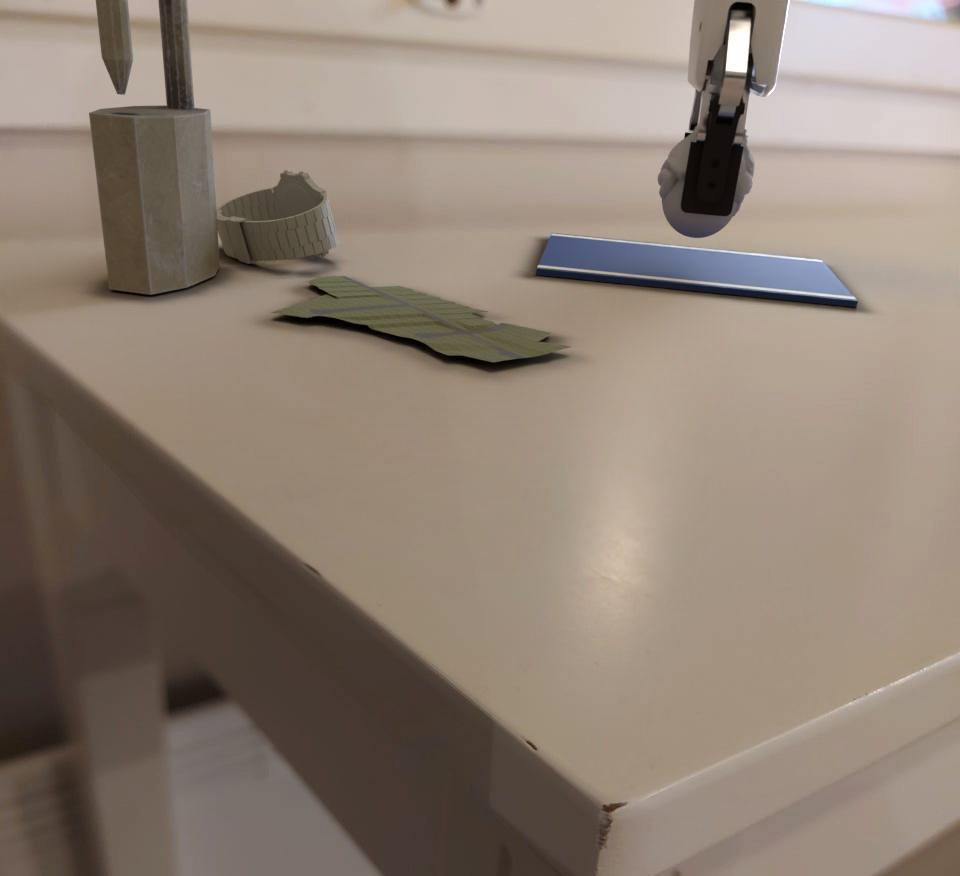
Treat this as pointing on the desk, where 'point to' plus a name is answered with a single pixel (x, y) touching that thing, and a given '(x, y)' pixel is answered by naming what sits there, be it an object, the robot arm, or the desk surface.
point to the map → (422, 320)
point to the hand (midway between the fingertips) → (701, 203)
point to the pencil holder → (154, 165)
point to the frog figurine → (673, 187)
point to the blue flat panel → (693, 269)
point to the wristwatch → (278, 222)
